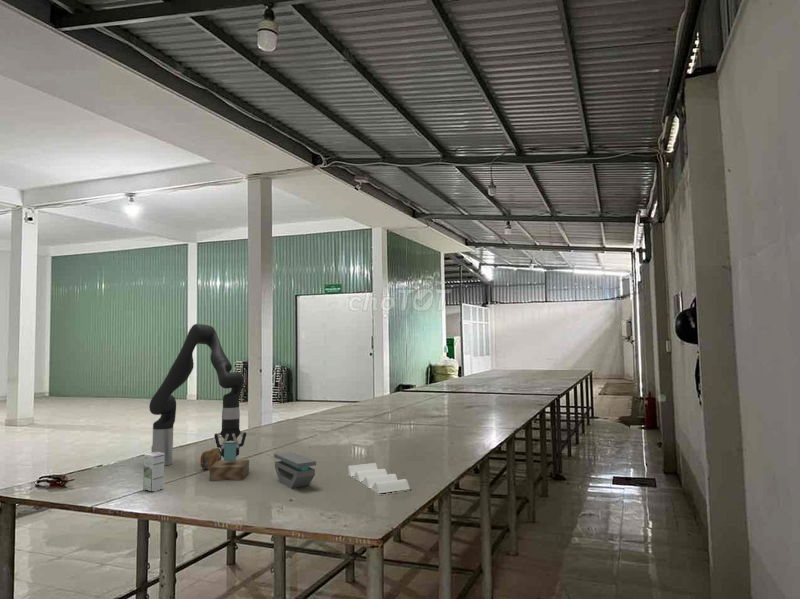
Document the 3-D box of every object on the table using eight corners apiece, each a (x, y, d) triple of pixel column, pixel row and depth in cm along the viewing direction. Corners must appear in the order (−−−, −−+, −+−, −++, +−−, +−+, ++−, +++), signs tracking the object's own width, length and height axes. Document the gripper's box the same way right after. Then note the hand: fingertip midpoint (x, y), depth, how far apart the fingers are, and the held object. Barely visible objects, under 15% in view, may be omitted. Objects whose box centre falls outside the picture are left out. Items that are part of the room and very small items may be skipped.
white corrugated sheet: (380, 497, 213) (380, 483, 214) (348, 477, 245) (348, 465, 245) (411, 493, 219) (411, 480, 219) (375, 474, 250) (375, 462, 251)
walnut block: (209, 481, 237) (209, 467, 238) (217, 474, 251) (217, 460, 252) (243, 481, 238) (243, 466, 239) (248, 473, 252) (249, 459, 253)
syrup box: (164, 489, 225) (165, 452, 226) (151, 492, 219) (152, 455, 221) (155, 487, 227) (156, 451, 229) (142, 490, 222) (143, 453, 223)
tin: (205, 471, 256) (205, 452, 256) (198, 471, 256) (199, 452, 257) (221, 464, 270) (222, 446, 271) (215, 464, 271) (216, 446, 272)
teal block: (223, 461, 242) (224, 444, 243) (224, 458, 247) (224, 442, 248) (235, 460, 244) (236, 444, 244) (236, 458, 248) (236, 442, 249)
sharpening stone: (273, 479, 240) (274, 453, 241) (290, 476, 244) (291, 451, 245) (297, 492, 219) (298, 463, 220) (316, 489, 224) (316, 461, 225)
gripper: (247, 415, 252) (246, 454, 251) (214, 417, 248) (213, 456, 247) (247, 418, 245) (247, 457, 244) (213, 419, 241) (212, 459, 240)
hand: (230, 456), depth 245 cm, fingers closed on teal block, 5 cm apart
